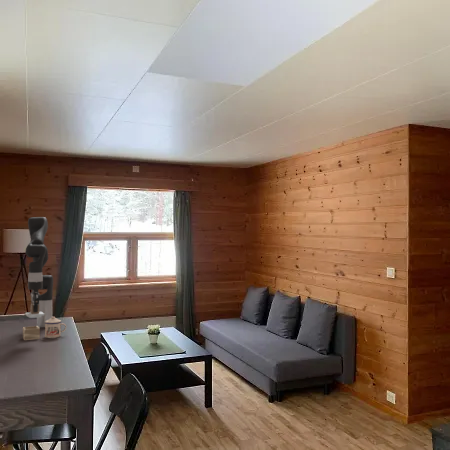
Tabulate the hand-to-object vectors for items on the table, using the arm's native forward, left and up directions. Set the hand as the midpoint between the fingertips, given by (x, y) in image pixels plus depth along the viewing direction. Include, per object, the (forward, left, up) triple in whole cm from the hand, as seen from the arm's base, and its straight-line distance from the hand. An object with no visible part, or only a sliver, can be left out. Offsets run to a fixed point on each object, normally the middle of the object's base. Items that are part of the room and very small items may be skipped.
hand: (34, 311), depth 260 cm
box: (-12, 0, -17) cm, 21 cm away
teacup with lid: (-10, +13, -17) cm, 24 cm away
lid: (0, 0, -3) cm, 3 cm away
